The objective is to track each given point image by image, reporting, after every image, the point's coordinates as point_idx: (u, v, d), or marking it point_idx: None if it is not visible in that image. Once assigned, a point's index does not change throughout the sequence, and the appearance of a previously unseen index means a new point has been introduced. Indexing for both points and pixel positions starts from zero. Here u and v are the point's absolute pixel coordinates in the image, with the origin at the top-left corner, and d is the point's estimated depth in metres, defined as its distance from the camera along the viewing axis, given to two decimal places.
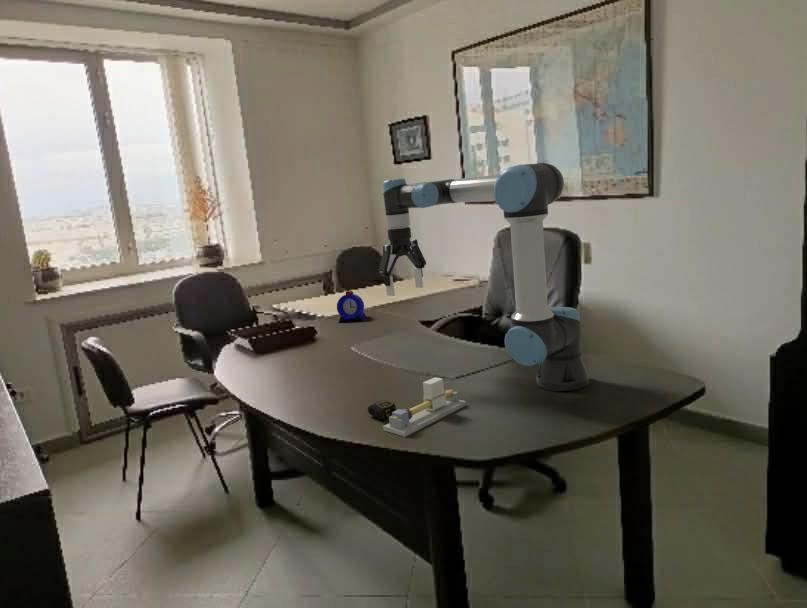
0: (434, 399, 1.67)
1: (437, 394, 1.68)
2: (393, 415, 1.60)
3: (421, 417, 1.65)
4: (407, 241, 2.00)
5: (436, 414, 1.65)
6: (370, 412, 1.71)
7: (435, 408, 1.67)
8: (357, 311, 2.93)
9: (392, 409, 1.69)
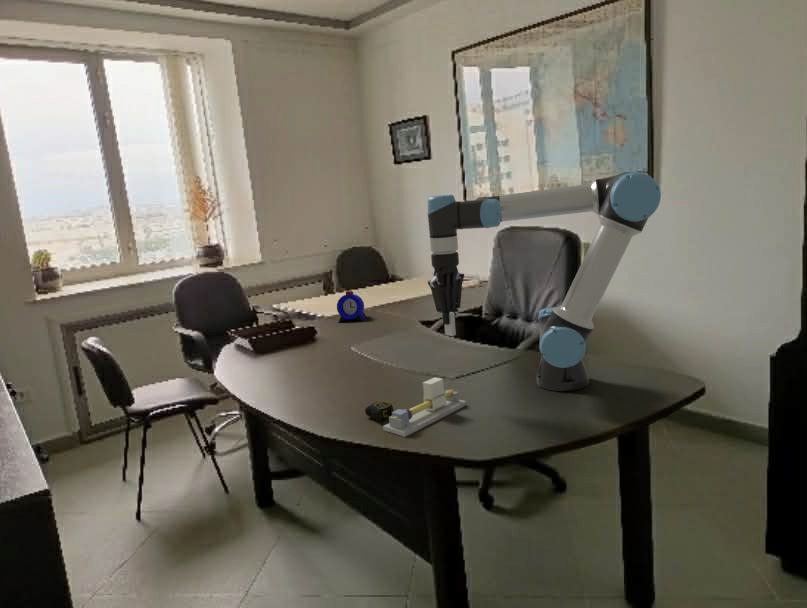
0: (434, 399, 1.67)
1: (437, 394, 1.68)
2: (393, 415, 1.60)
3: (421, 417, 1.65)
4: (455, 267, 1.70)
5: (436, 414, 1.65)
6: (367, 413, 1.71)
7: (435, 408, 1.67)
8: (357, 311, 2.93)
9: (389, 410, 1.69)
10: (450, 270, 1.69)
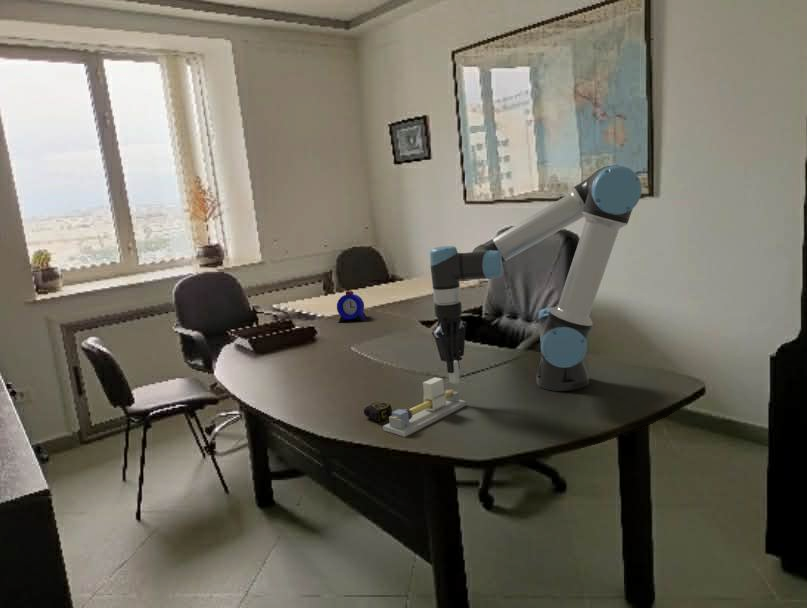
0: (434, 399, 1.67)
1: (437, 394, 1.68)
2: (393, 415, 1.60)
3: (421, 417, 1.65)
4: (458, 316, 1.73)
5: (436, 414, 1.65)
6: (366, 414, 1.70)
7: (435, 408, 1.67)
8: (357, 311, 2.93)
9: (388, 411, 1.68)
10: (453, 320, 1.71)
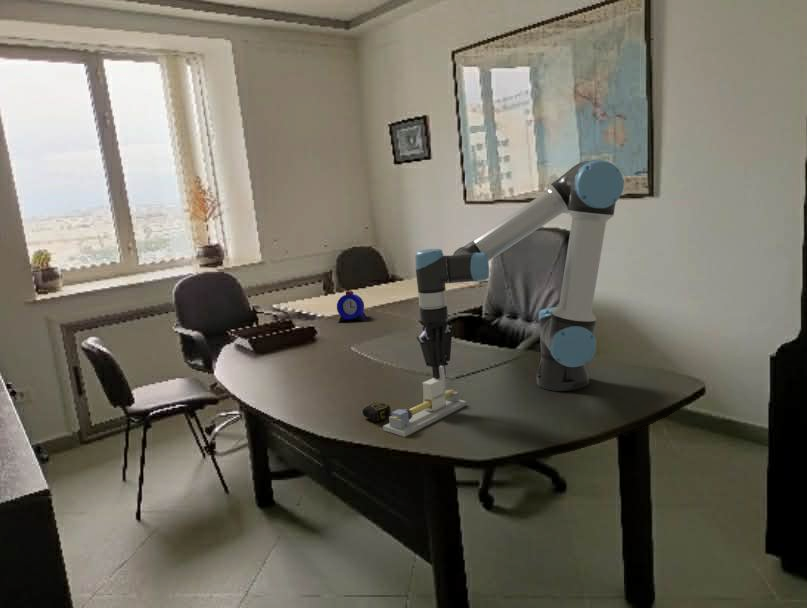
0: (434, 399, 1.66)
1: (437, 394, 1.68)
2: (393, 415, 1.60)
3: (421, 417, 1.65)
4: (444, 320, 1.69)
5: (436, 414, 1.65)
6: (365, 414, 1.70)
7: (435, 408, 1.67)
8: (357, 311, 2.93)
9: (387, 411, 1.68)
10: (439, 324, 1.67)
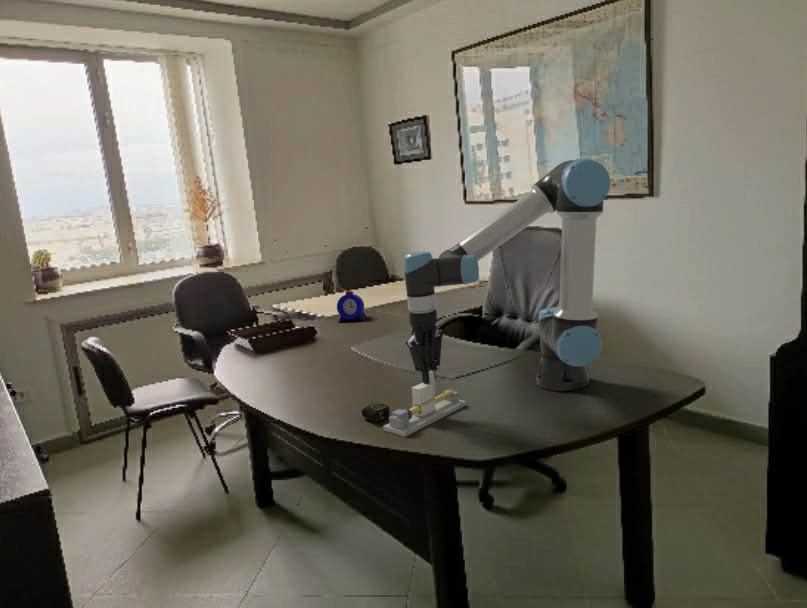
0: (423, 404, 1.63)
1: (426, 399, 1.65)
2: (393, 415, 1.60)
3: (421, 417, 1.65)
4: (434, 324, 1.66)
5: (436, 414, 1.65)
6: (364, 414, 1.70)
7: (424, 414, 1.64)
8: (357, 311, 2.93)
9: (386, 411, 1.68)
10: (428, 328, 1.64)
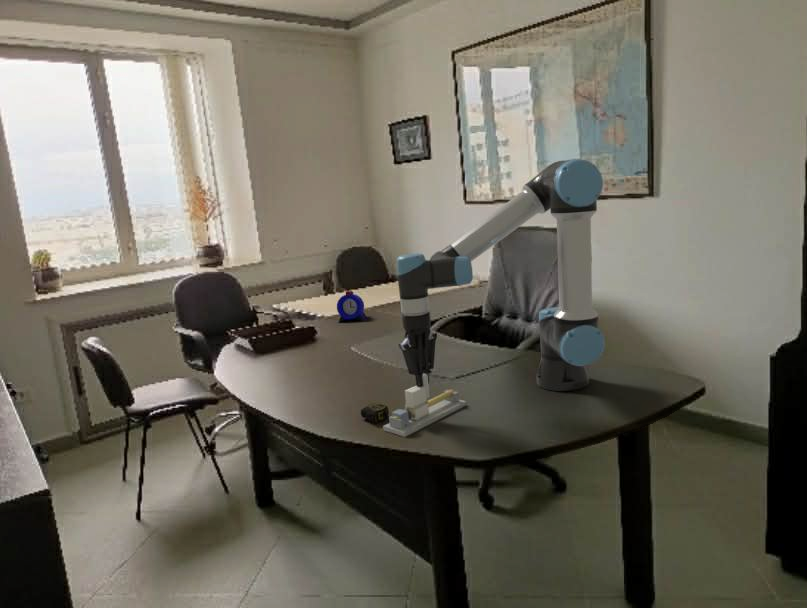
0: (416, 407, 1.62)
1: (419, 402, 1.63)
2: (393, 415, 1.60)
3: None
4: (427, 327, 1.64)
5: (436, 414, 1.65)
6: (363, 415, 1.70)
7: (417, 417, 1.62)
8: (357, 311, 2.93)
9: (385, 412, 1.68)
10: (422, 331, 1.63)
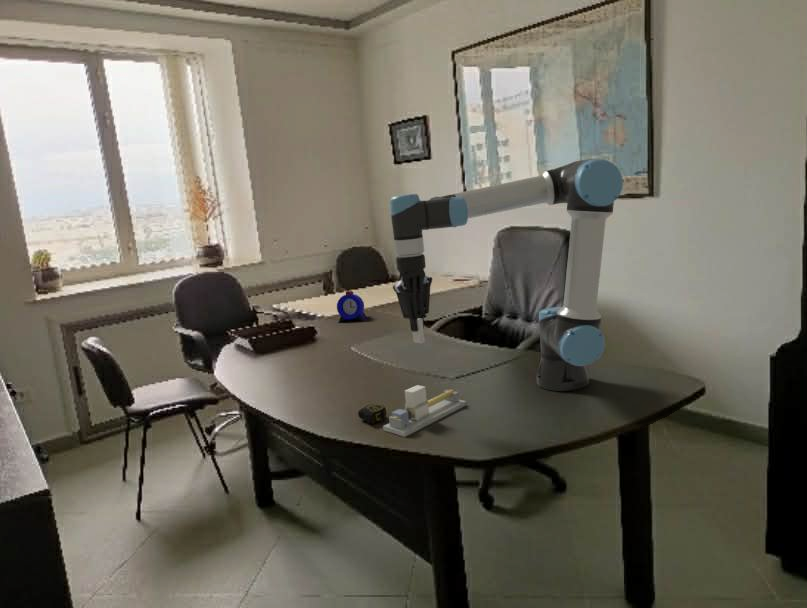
0: (416, 407, 1.62)
1: (419, 402, 1.63)
2: (393, 415, 1.60)
3: None
4: (422, 270, 1.61)
5: (436, 414, 1.65)
6: (360, 416, 1.69)
7: (417, 417, 1.62)
8: (357, 311, 2.93)
9: (382, 413, 1.67)
10: (416, 274, 1.60)
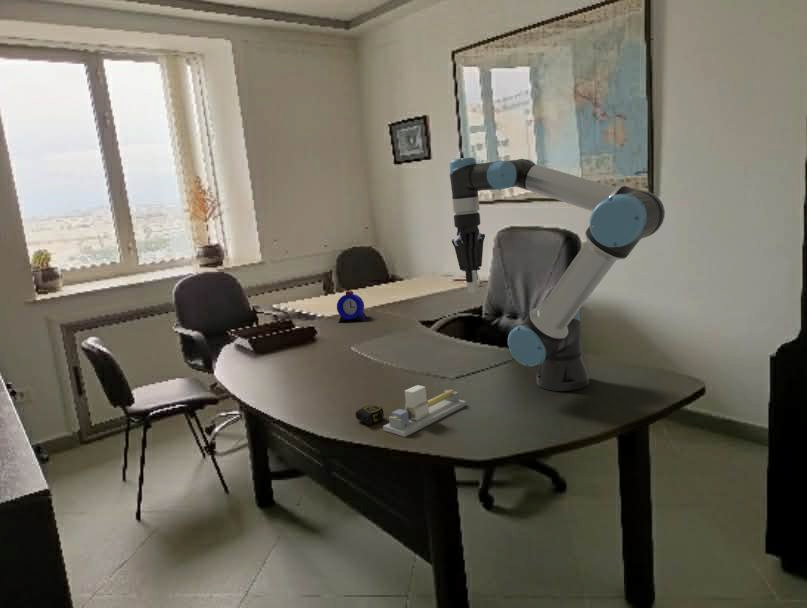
0: (416, 407, 1.62)
1: (419, 402, 1.63)
2: (393, 415, 1.60)
3: None
4: (477, 227, 1.79)
5: (436, 414, 1.65)
6: (358, 417, 1.69)
7: (417, 417, 1.62)
8: (357, 311, 2.93)
9: (380, 414, 1.67)
10: (472, 230, 1.78)
